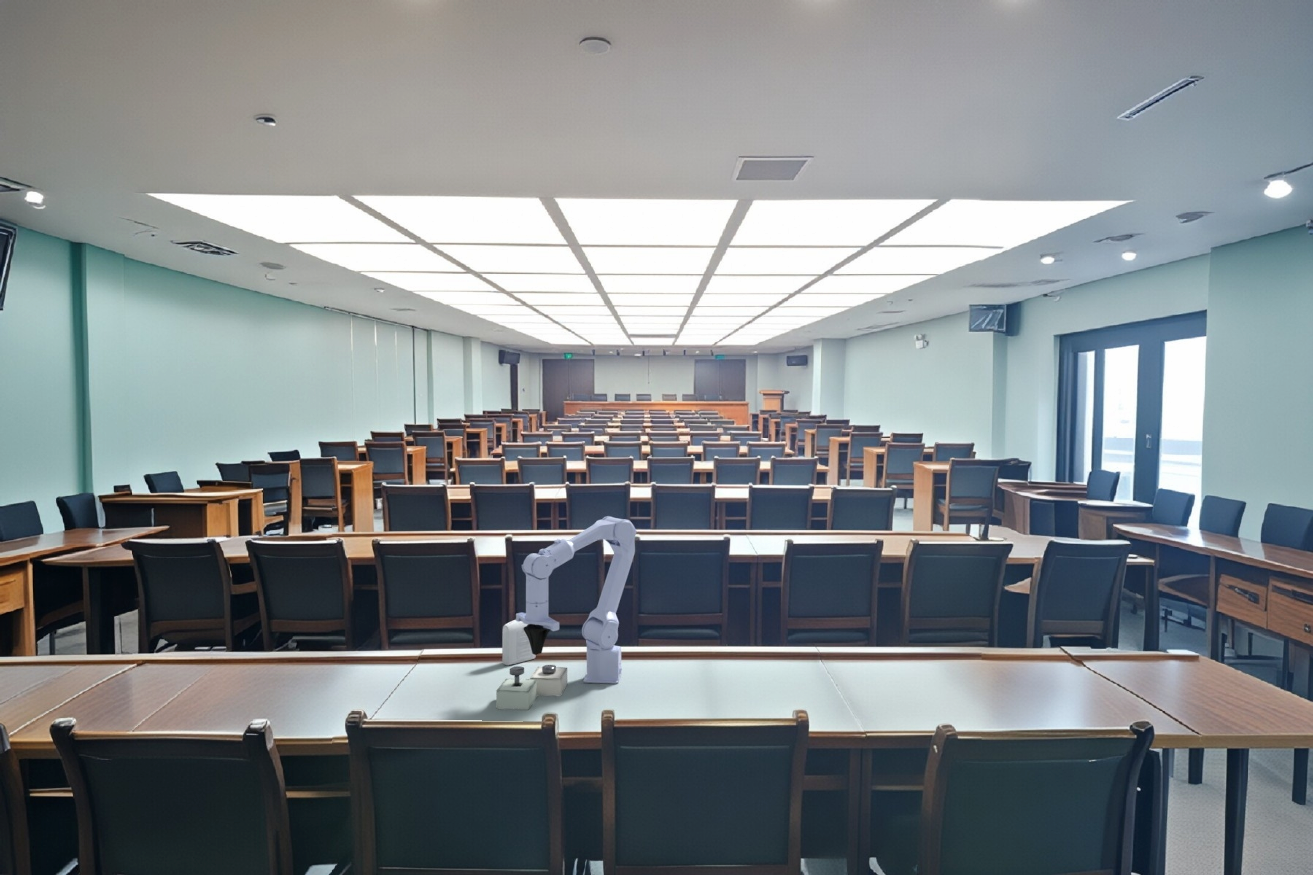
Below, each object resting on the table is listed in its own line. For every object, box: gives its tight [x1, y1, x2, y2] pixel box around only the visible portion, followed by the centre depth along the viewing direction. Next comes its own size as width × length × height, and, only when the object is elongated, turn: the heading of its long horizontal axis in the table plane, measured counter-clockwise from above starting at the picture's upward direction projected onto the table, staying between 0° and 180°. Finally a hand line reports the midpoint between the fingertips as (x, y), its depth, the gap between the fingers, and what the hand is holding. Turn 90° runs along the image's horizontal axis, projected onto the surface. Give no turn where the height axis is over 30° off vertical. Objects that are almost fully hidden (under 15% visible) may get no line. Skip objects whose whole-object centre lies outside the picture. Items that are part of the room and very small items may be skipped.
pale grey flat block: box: [495, 678, 538, 711], centre depth 172 cm, size 8×8×4 cm
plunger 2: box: [541, 664, 557, 674], centre depth 180 cm, size 5×5×5 cm
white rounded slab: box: [501, 619, 536, 666], centre depth 202 cm, size 10×4×12 cm, turn 134°
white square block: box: [529, 666, 568, 697], centre depth 180 cm, size 8×8×4 cm
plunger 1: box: [509, 665, 525, 687], centre depth 172 cm, size 5×5×5 cm
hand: (537, 653), depth 177 cm, fingers closed
